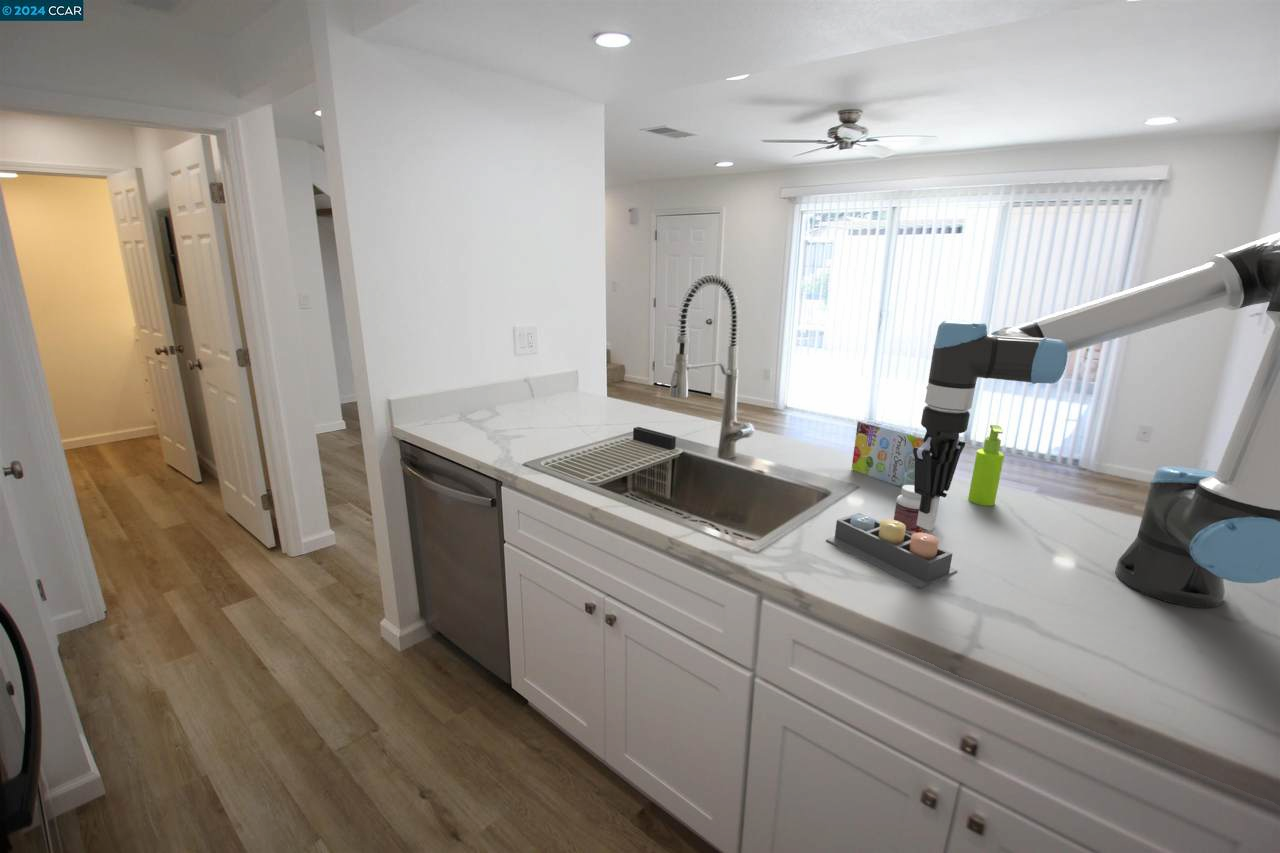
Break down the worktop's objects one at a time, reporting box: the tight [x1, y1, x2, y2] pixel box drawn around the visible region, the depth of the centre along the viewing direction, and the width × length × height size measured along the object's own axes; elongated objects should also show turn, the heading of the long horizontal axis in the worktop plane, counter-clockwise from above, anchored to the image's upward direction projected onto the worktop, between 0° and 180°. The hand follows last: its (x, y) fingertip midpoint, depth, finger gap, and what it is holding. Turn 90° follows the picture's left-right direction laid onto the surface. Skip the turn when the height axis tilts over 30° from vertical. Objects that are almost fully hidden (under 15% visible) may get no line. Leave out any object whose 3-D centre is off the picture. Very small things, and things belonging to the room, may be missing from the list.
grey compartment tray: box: [825, 512, 958, 589], centre depth 118 cm, size 22×12×4 cm, turn 32°
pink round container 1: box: [909, 532, 940, 560], centre depth 111 cm, size 5×5×5 cm
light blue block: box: [850, 514, 876, 531], centre depth 123 cm, size 5×5×5 cm
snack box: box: [851, 419, 926, 488], centre depth 159 cm, size 21×6×15 cm, turn 34°
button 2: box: [878, 518, 906, 545], centre depth 117 cm, size 5×5×5 cm
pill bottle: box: [893, 485, 924, 535], centre depth 126 cm, size 6×6×11 cm
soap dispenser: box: [967, 424, 1005, 507], centre depth 144 cm, size 6×7×20 cm
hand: (925, 526), depth 110 cm, fingers closed
